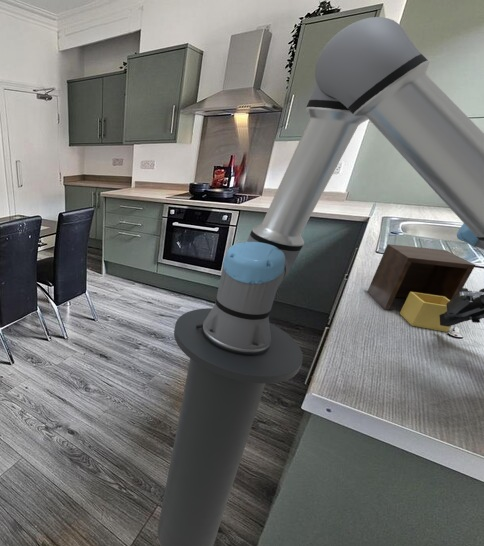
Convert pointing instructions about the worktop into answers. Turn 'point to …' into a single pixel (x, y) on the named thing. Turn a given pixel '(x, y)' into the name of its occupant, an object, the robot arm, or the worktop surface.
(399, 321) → the worktop surface
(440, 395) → the worktop surface
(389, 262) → the shelf
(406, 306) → the basket
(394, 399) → the worktop surface
